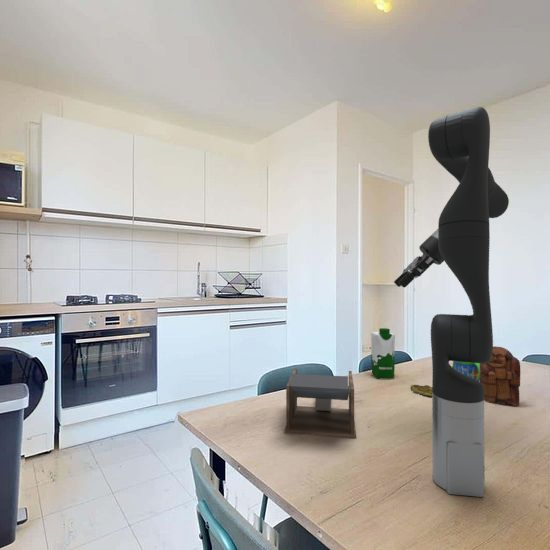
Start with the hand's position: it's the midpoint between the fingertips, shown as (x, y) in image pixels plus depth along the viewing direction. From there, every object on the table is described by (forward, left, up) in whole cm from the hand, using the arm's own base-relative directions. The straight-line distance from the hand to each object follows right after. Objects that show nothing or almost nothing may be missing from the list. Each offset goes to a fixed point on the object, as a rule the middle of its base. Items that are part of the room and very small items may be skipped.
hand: (398, 285), depth 102 cm
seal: (+28, -15, -39) cm, 51 cm away
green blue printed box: (+43, -32, -39) cm, 66 cm away
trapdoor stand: (-4, +22, -39) cm, 44 cm away
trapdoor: (-9, +22, -30) cm, 38 cm away
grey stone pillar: (+2, +21, -35) cm, 41 cm away
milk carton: (+48, -1, -39) cm, 62 cm away
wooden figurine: (+23, -35, -39) cm, 57 cm away
